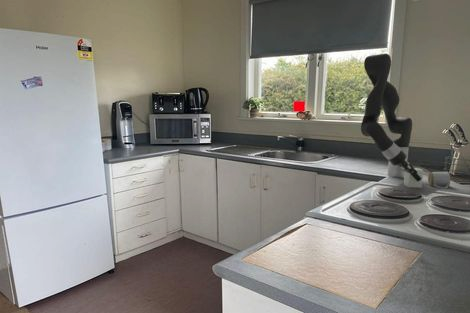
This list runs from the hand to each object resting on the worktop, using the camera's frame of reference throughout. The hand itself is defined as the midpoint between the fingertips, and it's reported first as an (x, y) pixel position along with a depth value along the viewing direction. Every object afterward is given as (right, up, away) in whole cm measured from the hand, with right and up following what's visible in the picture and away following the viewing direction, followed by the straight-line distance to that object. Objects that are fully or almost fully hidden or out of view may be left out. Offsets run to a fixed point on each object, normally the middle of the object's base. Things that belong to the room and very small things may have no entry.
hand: (416, 178), depth 160 cm
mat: (-3, -5, -5) cm, 8 cm away
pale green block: (-2, -4, +1) cm, 4 cm away
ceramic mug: (+12, -5, +2) cm, 13 cm away
